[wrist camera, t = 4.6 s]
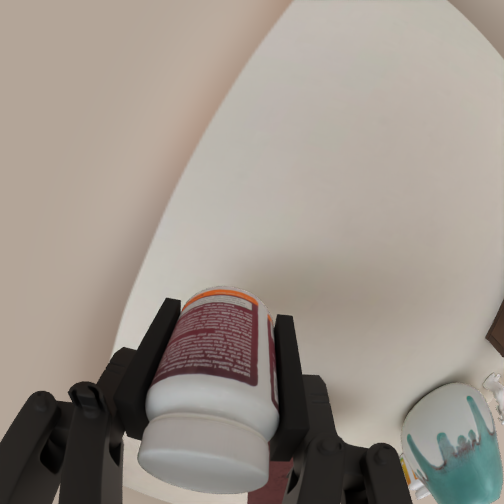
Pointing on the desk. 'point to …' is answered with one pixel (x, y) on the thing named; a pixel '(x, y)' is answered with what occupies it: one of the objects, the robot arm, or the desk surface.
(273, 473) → the red cylinder
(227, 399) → the pill bottle
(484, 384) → the flower shoulder figurine
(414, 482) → the supplement bottle
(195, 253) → the desk surface
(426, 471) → the vase
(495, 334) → the holder
